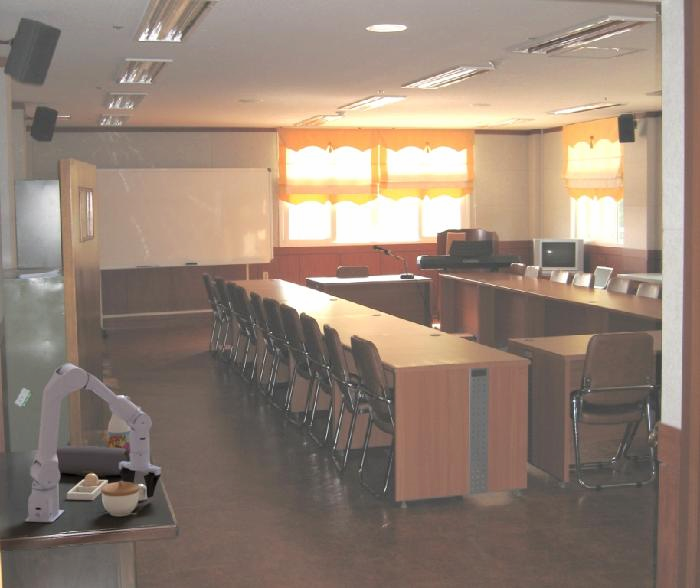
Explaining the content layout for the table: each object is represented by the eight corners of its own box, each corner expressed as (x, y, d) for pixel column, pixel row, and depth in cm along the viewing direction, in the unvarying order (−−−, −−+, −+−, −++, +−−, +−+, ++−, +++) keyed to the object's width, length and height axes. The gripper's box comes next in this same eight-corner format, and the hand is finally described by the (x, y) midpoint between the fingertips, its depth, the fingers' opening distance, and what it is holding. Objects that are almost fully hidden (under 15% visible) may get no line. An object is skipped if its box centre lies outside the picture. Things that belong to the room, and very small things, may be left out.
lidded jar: (124, 504, 289) (123, 474, 288) (147, 512, 282) (146, 480, 281) (93, 513, 281) (93, 482, 280) (117, 521, 274) (116, 489, 273)
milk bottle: (107, 458, 339) (106, 402, 337) (129, 457, 341) (129, 401, 339) (108, 464, 332) (107, 406, 330) (131, 462, 334) (131, 405, 332)
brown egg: (95, 491, 300) (95, 475, 299) (82, 491, 300) (82, 475, 299) (100, 487, 304) (100, 471, 303) (87, 487, 304) (86, 471, 304)
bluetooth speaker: (131, 473, 321) (130, 444, 320) (121, 481, 312) (121, 451, 311) (64, 471, 324) (64, 441, 323) (53, 479, 314) (52, 449, 313)
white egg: (145, 502, 291) (144, 486, 291) (131, 502, 292) (131, 486, 291) (148, 498, 295) (148, 482, 295) (135, 498, 296) (135, 482, 295)
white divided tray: (93, 501, 291) (92, 493, 291) (67, 501, 292) (66, 492, 292) (107, 487, 305) (107, 480, 305) (83, 487, 306) (82, 479, 306)
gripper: (167, 450, 292) (167, 494, 294) (129, 444, 299) (130, 487, 300) (152, 456, 286) (153, 501, 287) (113, 450, 292) (114, 494, 294)
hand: (140, 494), depth 293 cm, fingers open, 7 cm apart
